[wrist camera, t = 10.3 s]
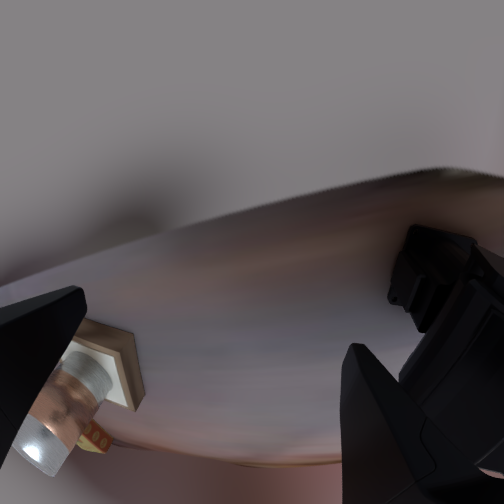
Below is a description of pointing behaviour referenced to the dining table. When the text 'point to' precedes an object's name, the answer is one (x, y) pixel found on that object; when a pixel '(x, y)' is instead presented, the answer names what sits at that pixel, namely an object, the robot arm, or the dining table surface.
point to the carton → (95, 438)
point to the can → (62, 411)
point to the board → (112, 360)
